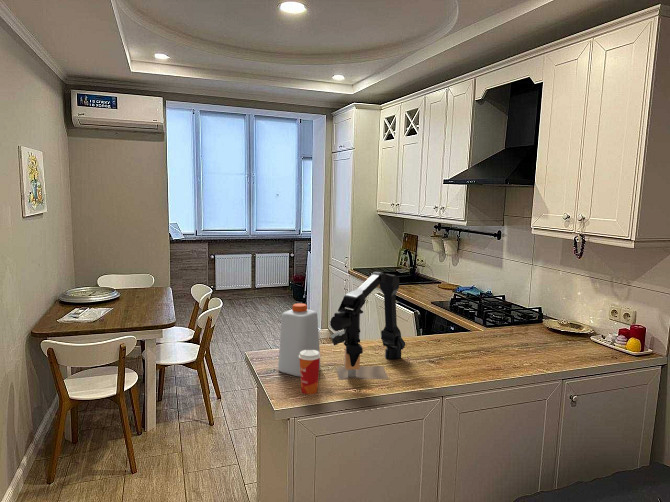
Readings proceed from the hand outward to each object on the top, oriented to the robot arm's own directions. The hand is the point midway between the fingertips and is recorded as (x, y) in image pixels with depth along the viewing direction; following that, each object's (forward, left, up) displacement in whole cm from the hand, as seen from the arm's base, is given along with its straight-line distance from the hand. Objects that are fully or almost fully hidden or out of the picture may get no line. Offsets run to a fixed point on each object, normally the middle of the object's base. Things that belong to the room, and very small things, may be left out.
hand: (351, 363), depth 186 cm
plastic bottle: (+21, -11, -7) cm, 25 cm away
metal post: (0, 0, -5) cm, 5 cm away
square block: (0, 0, -1) cm, 1 cm away
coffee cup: (+17, +11, -7) cm, 21 cm away
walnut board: (-4, -4, -6) cm, 9 cm away
